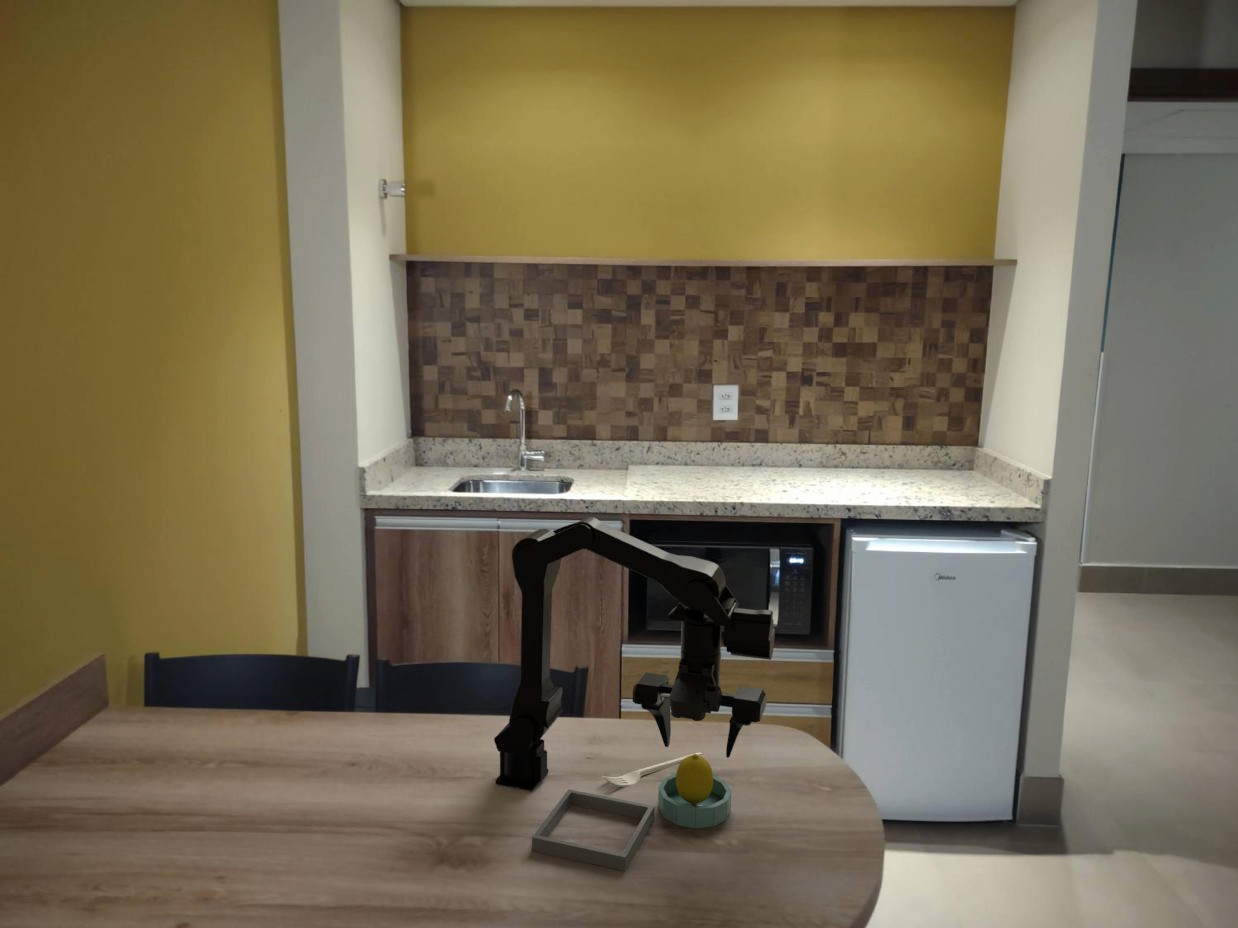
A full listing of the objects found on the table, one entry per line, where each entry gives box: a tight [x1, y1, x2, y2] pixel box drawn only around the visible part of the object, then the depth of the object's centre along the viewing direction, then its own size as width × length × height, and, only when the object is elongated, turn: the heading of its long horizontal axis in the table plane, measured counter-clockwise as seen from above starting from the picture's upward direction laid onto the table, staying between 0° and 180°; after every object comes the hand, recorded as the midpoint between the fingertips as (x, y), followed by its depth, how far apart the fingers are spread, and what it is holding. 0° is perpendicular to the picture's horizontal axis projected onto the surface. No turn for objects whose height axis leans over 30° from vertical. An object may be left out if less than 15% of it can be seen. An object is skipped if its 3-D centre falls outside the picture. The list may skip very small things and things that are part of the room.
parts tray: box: [531, 789, 655, 872], centre depth 130 cm, size 13×13×2 cm
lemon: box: [675, 753, 714, 805], centre depth 136 cm, size 6×6×8 cm
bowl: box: [657, 772, 732, 829], centre depth 137 cm, size 10×10×3 cm
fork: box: [600, 752, 703, 788], centre depth 148 cm, size 3×20×2 cm, turn 127°
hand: (697, 751), depth 135 cm, fingers open, 9 cm apart
